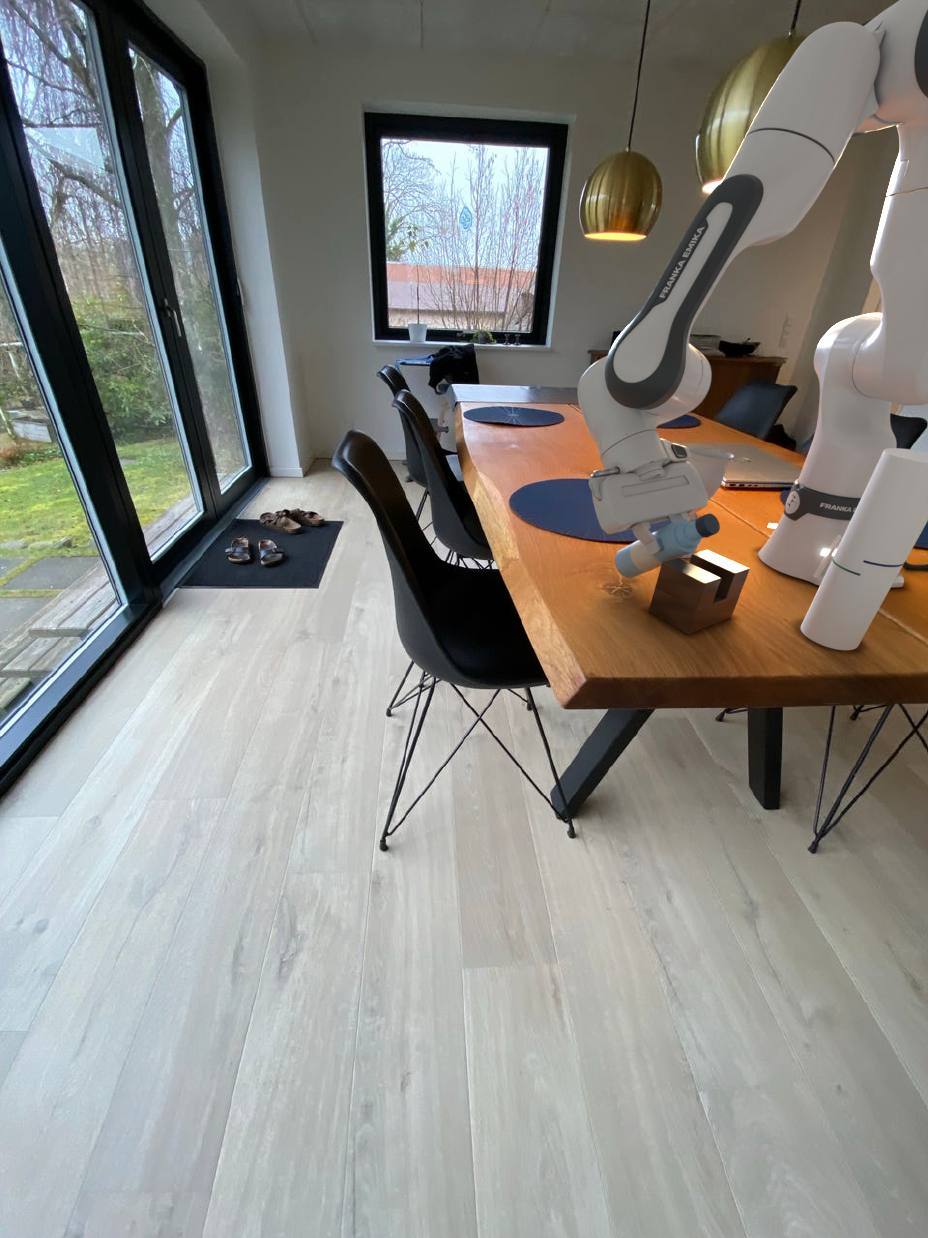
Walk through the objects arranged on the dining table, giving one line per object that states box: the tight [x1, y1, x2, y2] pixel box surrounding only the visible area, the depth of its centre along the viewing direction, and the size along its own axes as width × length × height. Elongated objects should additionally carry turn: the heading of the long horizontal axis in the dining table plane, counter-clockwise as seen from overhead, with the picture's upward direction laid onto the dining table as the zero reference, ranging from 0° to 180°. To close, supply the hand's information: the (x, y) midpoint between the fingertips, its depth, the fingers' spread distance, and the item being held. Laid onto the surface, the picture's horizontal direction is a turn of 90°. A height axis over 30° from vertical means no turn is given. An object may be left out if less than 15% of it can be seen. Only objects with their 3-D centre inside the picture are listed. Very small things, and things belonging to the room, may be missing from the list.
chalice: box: [680, 446, 734, 559], centre depth 91 cm, size 7×7×18 cm
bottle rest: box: [648, 549, 751, 635], centre depth 74 cm, size 7×10×8 cm
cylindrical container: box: [800, 447, 928, 651], centre depth 67 cm, size 7×7×25 cm
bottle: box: [614, 512, 721, 579], centre depth 78 cm, size 14×5×14 cm, turn 32°
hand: (672, 548), depth 76 cm, fingers closed on bottle, 5 cm apart
